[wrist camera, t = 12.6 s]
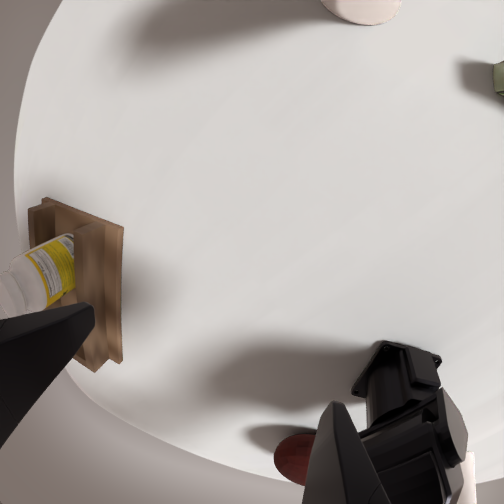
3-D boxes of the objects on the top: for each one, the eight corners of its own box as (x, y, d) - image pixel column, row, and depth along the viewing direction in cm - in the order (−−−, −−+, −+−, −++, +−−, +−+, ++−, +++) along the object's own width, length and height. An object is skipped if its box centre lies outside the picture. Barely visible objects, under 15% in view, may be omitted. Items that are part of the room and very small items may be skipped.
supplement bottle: (66, 278, 27) (1, 319, 19) (55, 231, 26) (-17, 264, 17) (97, 284, 26) (27, 334, 17) (87, 232, 24) (6, 272, 15)
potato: (293, 413, 27) (282, 460, 21) (374, 436, 25) (373, 480, 20) (269, 442, 29) (256, 483, 24) (341, 462, 28) (336, 501, 23)
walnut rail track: (122, 360, 30) (105, 379, 27) (56, 318, 32) (38, 332, 29) (123, 227, 24) (95, 240, 20) (46, 197, 26) (20, 205, 22)
